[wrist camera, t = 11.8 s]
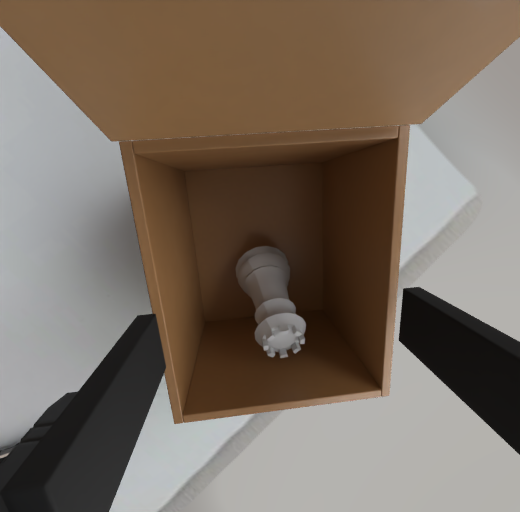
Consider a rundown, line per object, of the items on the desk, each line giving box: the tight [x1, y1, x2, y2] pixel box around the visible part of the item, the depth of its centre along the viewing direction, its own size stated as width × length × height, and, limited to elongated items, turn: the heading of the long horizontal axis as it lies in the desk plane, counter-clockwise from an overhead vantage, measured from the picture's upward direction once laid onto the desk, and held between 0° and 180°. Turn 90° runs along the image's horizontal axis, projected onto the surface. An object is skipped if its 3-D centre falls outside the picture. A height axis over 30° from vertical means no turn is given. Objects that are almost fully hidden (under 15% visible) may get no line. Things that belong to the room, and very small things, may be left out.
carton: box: [119, 125, 410, 424], centre depth 17 cm, size 14×12×10 cm
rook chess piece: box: [236, 246, 306, 358], centre depth 18 cm, size 4×4×8 cm
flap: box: [0, 0, 520, 141], centre depth 6 cm, size 7×12×1 cm
